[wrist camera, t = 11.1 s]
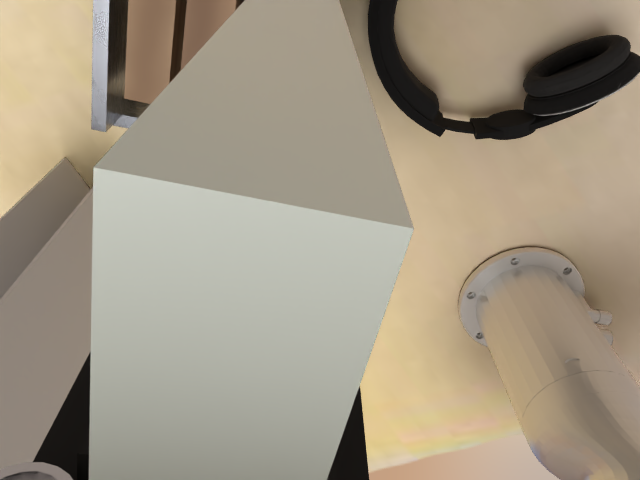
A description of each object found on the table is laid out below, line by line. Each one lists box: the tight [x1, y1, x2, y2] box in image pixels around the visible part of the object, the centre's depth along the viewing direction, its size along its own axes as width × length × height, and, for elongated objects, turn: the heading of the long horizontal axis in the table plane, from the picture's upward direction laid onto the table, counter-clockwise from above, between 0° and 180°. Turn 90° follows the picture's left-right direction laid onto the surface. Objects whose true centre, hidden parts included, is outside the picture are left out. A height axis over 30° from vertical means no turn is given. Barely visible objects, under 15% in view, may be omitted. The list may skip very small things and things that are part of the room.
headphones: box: [368, 0, 640, 140], centre depth 41 cm, size 18×8×20 cm
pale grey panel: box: [89, 0, 414, 480], centre depth 15 cm, size 2×12×20 cm, turn 168°
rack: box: [91, 0, 150, 132], centre depth 39 cm, size 15×19×8 cm
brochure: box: [0, 158, 93, 470], centre depth 39 cm, size 14×6×30 cm, turn 5°
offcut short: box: [124, 0, 187, 104], centre depth 39 cm, size 3×12×8 cm, turn 167°
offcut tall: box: [181, 0, 245, 70], centre depth 39 cm, size 3×12×9 cm, turn 167°
